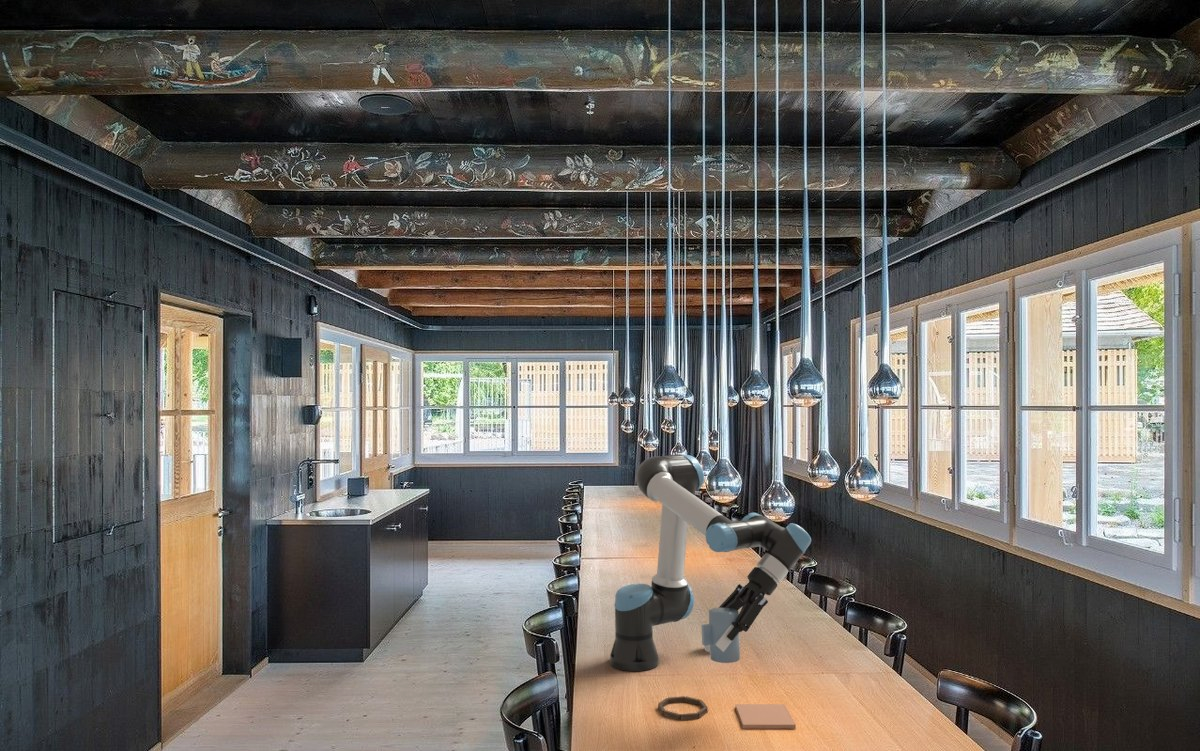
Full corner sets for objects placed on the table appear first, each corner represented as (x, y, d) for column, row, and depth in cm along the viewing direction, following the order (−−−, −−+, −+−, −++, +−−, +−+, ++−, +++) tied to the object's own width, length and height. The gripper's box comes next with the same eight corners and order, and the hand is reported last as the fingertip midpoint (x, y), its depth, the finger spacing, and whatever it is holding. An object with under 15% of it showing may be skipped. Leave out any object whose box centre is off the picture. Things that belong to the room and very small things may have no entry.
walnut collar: (673, 697, 214) (673, 693, 214) (713, 707, 207) (713, 702, 207) (651, 712, 204) (651, 708, 204) (692, 723, 197) (692, 718, 197)
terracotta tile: (735, 707, 207) (735, 704, 207) (784, 707, 207) (784, 704, 207) (743, 728, 194) (743, 724, 194) (795, 728, 194) (795, 724, 194)
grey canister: (732, 652, 207) (730, 606, 207) (745, 660, 199) (743, 613, 200) (697, 656, 204) (696, 609, 204) (709, 665, 197) (708, 617, 197)
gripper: (796, 593, 197) (739, 665, 192) (758, 576, 217) (706, 641, 212) (776, 573, 196) (719, 645, 191) (740, 558, 215) (687, 623, 210)
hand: (712, 643), depth 201 cm, fingers closed on grey canister, 8 cm apart
